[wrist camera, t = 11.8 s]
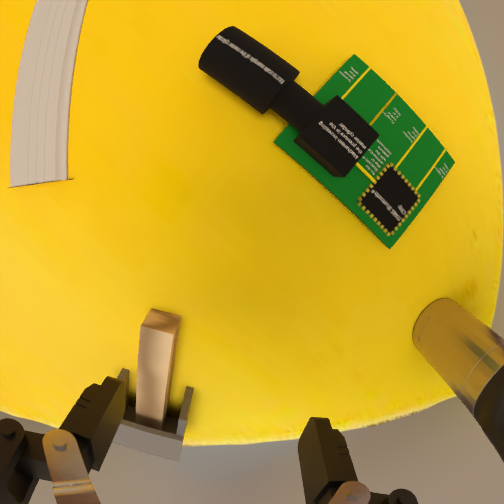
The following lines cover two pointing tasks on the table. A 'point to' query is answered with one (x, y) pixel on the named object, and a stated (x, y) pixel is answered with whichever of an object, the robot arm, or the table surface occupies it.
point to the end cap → (151, 439)
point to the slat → (155, 367)
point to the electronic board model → (340, 131)
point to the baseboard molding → (45, 93)
